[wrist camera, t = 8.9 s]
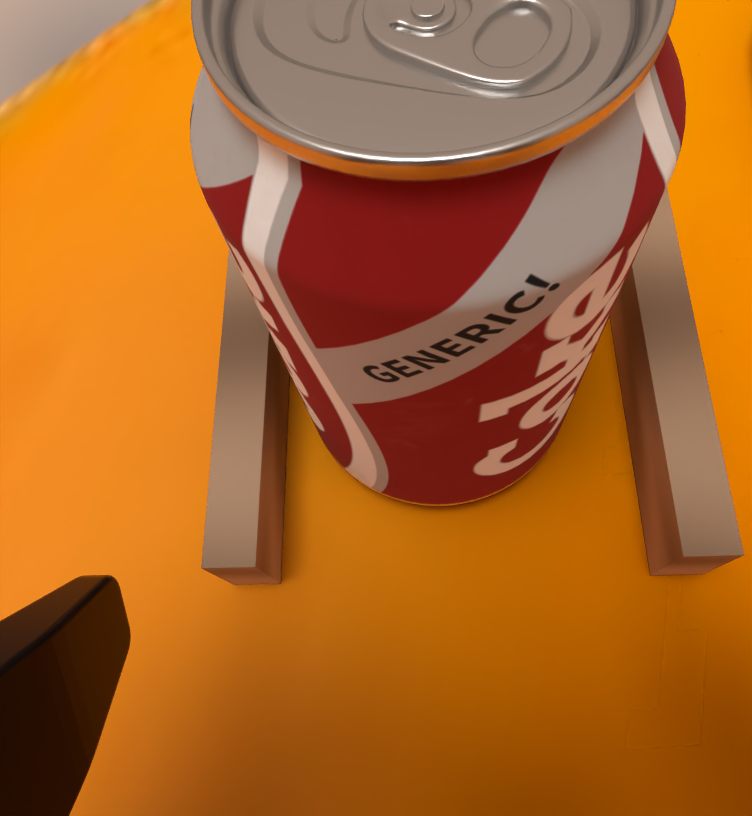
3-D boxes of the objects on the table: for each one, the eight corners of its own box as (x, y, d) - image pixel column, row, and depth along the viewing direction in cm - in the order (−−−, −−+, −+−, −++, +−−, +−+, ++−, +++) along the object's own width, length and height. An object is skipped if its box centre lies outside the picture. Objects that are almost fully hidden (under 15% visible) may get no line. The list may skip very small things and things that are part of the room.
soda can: (391, 252, 21) (331, -249, 10) (604, 345, 19) (829, -137, 8) (267, 438, 19) (16, 78, 8) (491, 562, 17) (580, 323, 6)
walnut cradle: (702, 574, 16) (743, 554, 14) (233, 584, 17) (201, 568, 15) (634, 205, 21) (657, 144, 18) (258, 229, 22) (235, 174, 19)
